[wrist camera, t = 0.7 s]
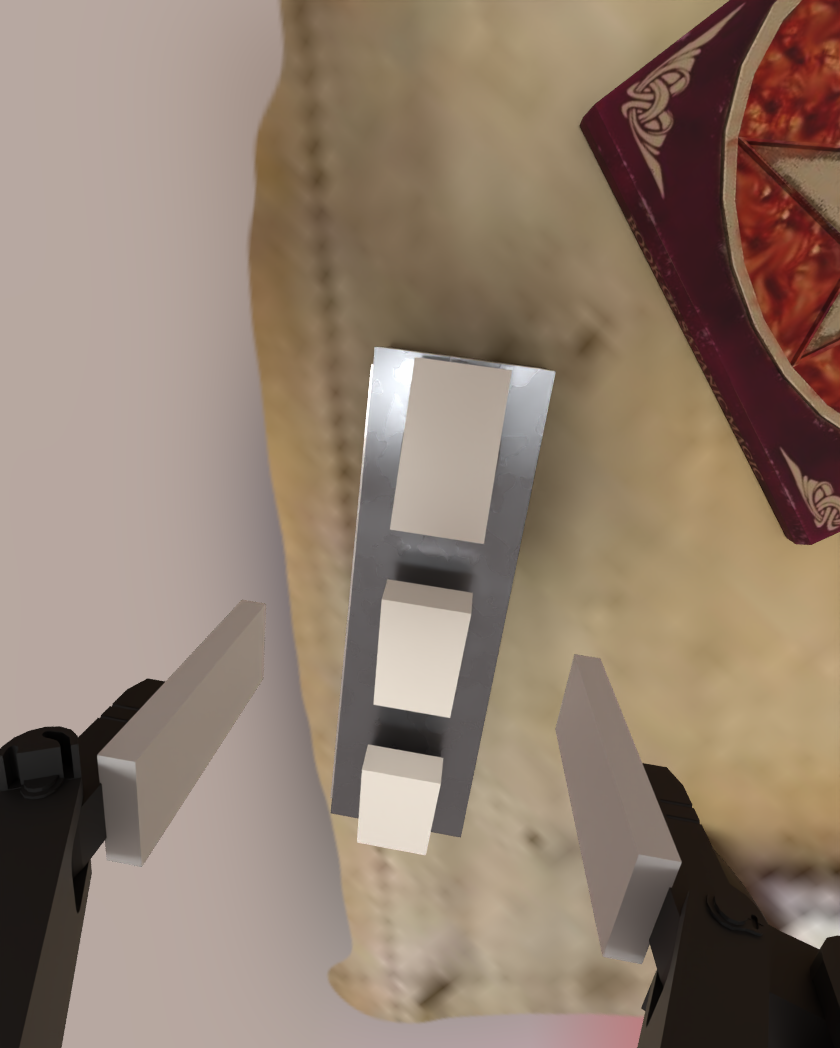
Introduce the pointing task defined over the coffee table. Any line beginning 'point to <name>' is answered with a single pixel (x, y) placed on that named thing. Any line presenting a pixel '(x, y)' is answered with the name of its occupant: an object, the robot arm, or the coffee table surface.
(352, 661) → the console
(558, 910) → the coffee table surface
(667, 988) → the robot arm
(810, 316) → the book
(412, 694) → the white rectangular block
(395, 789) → the block
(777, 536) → the coffee table surface
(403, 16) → the coffee table surface
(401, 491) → the block
